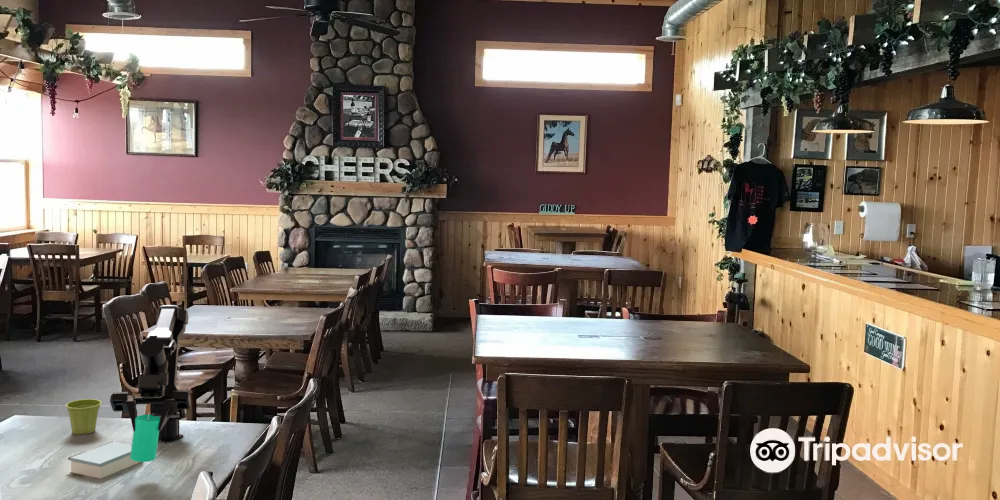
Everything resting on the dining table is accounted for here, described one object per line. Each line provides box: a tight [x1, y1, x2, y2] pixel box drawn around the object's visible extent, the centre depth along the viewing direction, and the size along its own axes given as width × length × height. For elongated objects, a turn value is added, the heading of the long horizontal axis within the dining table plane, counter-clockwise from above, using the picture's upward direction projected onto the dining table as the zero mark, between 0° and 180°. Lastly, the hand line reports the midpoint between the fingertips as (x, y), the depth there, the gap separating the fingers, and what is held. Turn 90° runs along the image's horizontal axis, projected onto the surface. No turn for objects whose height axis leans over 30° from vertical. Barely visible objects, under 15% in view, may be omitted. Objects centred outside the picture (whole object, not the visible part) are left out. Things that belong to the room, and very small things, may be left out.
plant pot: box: [65, 398, 102, 435], centre depth 231 cm, size 9×9×9 cm
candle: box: [130, 413, 160, 463], centre depth 197 cm, size 6×6×12 cm
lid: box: [67, 441, 132, 467], centre depth 205 cm, size 14×11×1 cm
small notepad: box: [70, 455, 140, 479], centre depth 205 cm, size 14×10×3 cm
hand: (147, 430), depth 196 cm, fingers closed on candle, 6 cm apart
